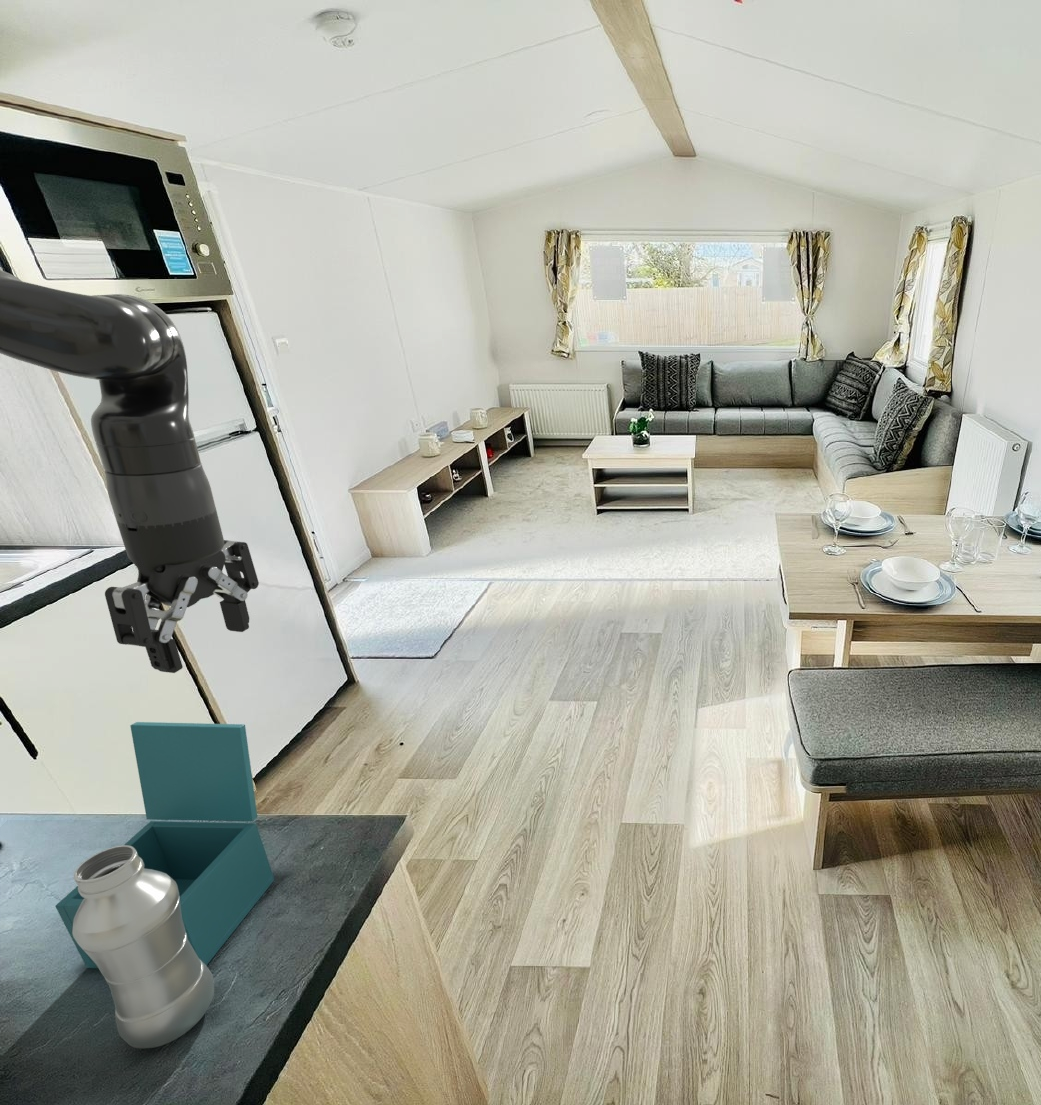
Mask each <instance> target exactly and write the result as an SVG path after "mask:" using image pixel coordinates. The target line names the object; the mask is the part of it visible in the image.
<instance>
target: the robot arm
mask: <svg viewBox="0 0 1041 1105" xmlns="http://www.w3.org/2000/svg"><path fill="white" fill-rule="evenodd" d="M0 354H1V355H3V356H6V357H9V358H11V359H13V360H17V361H21V362H24V363H27V364H31V365H33V366H37V367H40V368H44V369H47V370H51V371H54V372H57V373H61V374H65V375H69V376H73V377H78V378H84V379H90V380H98V383H99V388H100V395H101V397H100V402H99V404H98V405H97V407H96V408H95V409H94V411H93V412H92V414H91V418H90V426H91V431H92V436H93V439H94V442H95V445H96V449H97V452H98V455H99V458H100V461H101V464H102V468H103V470H104V475H105V480H106V491H107V495H108V499H109V502H110V506H111V509H112V512H113V514H114V517H115V522H116V524H117V527H118V531H119V533H120V537H121V540H122V543H123V546H124V550H125V552H126V555H127V558H128V559H129V560H130V561H131V563H133V564H134V566H135V567H136V568H137V570H138V574H137V575H138V576H137V580H136V581H135V582H133V583H130V584H128V585H126V586H123V587H121V586H109V587H107V588H106V589H105V591H104V597H105V600H106V604H107V609H108V612H109V615H110V620H111V624H112V627H113V631H114V636H115V638H116V642H117V644H119V645H127V646H128V645H129V646H135V647H136V646H137V647H142V648H145V651H146V653H147V656H148V659H149V662H150V665H151V667H152V668H153V669H154V670H157V671H159V672H162V673H169V674H175V673H177V672H179V671H181V670H182V669H183V667H184V666H183V663H182V660H181V656H180V653H179V649H178V646H177V643H176V639H174V638H172V637H173V634H174V630H175V629H176V625H177V623H178V622H180V621H181V620H182V619H184V616H185V613H186V610H187V608H190V607H193V606H194V605H196V604H197V603H198V602H199V601H200V600H204V599H207V598H210V597H212V596H216V597H217V598H219V599H221V601H219V606H220V609H221V613H222V617H223V620H224V625H225V627H226V629H227V631H230V632H235V633H244V632H245V631H247V630H248V629H250V625H249V623H250V615H249V611H248V607H247V603H246V600H247V599H248V593H249V592H250V591H251V590H256V589H257V588H259V584H260V583H259V578H258V575H257V572H256V568H255V565H254V561H253V559H252V555H251V552H250V549H249V545H248V543H247V542H245V541H236V540H227V539H225V538H224V535H223V530H222V527H221V523H220V519H219V516H218V511H217V507H216V503H215V500H214V496H213V491H212V488H211V483H210V481H209V479H208V476H207V474H206V472H205V470H204V467H203V463H202V461H201V457H200V454H199V449H198V445H197V441H196V439H195V434H194V430H193V427H192V424H191V421H190V416H189V404H190V402H189V401H190V396H189V395H190V393H189V373H188V362H187V355H186V350H185V346H184V342H183V339H182V337H181V334H180V332H179V330H178V328H177V327H176V325H175V323H174V321H173V320H172V319H171V318H170V317H169V316H168V315H167V313H166V312H165V311H163V310H162V309H161V308H160V307H158V305H155V304H154V303H152V302H151V301H149V300H146V299H144V298H142V297H139V296H138V297H137V296H135V295H129V294H122V293H121V294H120V293H119V294H113V293H111V294H101V295H100V294H97V295H95V294H94V295H89V294H82V293H77V292H70V291H67V290H66V291H65V290H61V289H57V288H52V287H47V286H43V285H40V284H39V285H38V284H35V283H31V282H26V281H23V280H22V279H21V278H19V277H17V276H15V275H13V274H11V273H9V272H7V271H5V270H2V269H0ZM223 569H225V571H226V574H225V573H224V572H223ZM242 575H243V577H242ZM160 604H163V605H165V606H168V607H169V609H167V610H161V609H160V606H161V605H160ZM159 620H160V623H159V626H158V629H156V628H157V625H158V622H159Z"/></svg>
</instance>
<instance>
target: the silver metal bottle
mask: <svg viewBox="0 0 1041 1105" xmlns="http://www.w3.org/2000/svg"><path fill="white" fill-rule="evenodd" d="M73 879H74V882H75V883H76V886H78V892H79V893H80V895H81V896H82V897H84V899H83V901H82V903H81V905H80V906H79V909H78V911H77V913H76V915H75V917H74V921H73V931H72V933H73V937H74V939H75V940H76V942H77V944H78V945H79V946H80V947H81V948H82V949H83V950H84V951H85V952H86V954H87V955H88V956H89V957H90V958H91V959H92V960H93V961H94V962H95V964H96V965H97V967H98V968H97V969H98V970H99V972H100V974H101V975H102V976H103V977H104V980H105V981H106V983H107V985H108V986H109V990H110V993H111V997H112V1000H113V1005H114V1007H115V1008H114V1009H115V1011H114V1014H115V1015H114V1016H115V1017H114V1018H115V1023H116V1030H117V1033H118V1036H119V1037H120V1038H121V1039H122V1040H123V1041H124V1042H125V1043H127V1045H129V1046H130V1047H132V1048H135V1049H153V1048H158V1047H162V1046H164V1045H167V1044H170V1043H172V1042H173V1041H176V1040H177V1039H179V1038H180V1037H182V1036H184V1034H186V1033H187V1032H189V1031H190V1030H191V1029H192V1028H194V1027H195V1025H197V1024H198V1023H199V1022H200V1021H201V1019H203V1017H204V1015H205V1014H206V1012H207V1011H208V1009H209V1007H210V1006H211V1003H212V1002H213V1000H214V997H215V996H214V995H215V980H214V975H213V973H212V972H211V970H210V969H209V967H208V965H205V964H204V963H203V962H202V961H201V960H200V959H199V958H198V956H197V954H196V953H195V951H194V949H193V947H192V946H191V944H190V942H189V941H188V938H187V934H186V932H185V927H184V923H183V920H182V914H181V905H180V896H179V890H178V886H177V884H176V881H174V880H173V879H172V878H171V877H170V876H168V875H167V874H166V873H163V872H160V871H156V870H152V869H145V868H144V862H143V860H142V859H141V858H140V857H139V856H138V854H137V851H136V850H135V849H134V848H133V847H132V846H128V845H124V844H123V845H122V844H121V845H117V846H113V847H109V848H106V849H104V850H101V851H99V852H97V853H95V854H93V855H92V856H90V857H88V858H87V859H85V860H84V861H83V862H82V863H80V865H78V867H77V868H76V869H75V870H74V872H73Z"/></svg>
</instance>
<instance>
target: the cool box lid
mask: <svg viewBox="0 0 1041 1105" xmlns="http://www.w3.org/2000/svg"><path fill="white" fill-rule="evenodd" d="M129 726H130V732H131V738H132V743H133V749H134V755H135V761H136V767H137V772H138V779H139V783H140V788H141V794H142V800H143V805H144V811H145V817H146V820H150V821H201V822H253V821H255V820H256V819H258V811H257V802H256V795H255V789H254V780H253V773H252V765H251V760H250V759H251V758H250V751H249V745H248V738H247V729H246V724H245V723H244V724H240V723H239V724H238V723H236V724H235V723H201V722H200V723H198V722H197V723H194V722H193V723H192V722H151V721H150V722H149V721H135V722H134V723H131V724H130V725H129Z"/></svg>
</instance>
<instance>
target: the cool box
mask: <svg viewBox="0 0 1041 1105" xmlns="http://www.w3.org/2000/svg"><path fill="white" fill-rule="evenodd" d="M123 845H128V846H132V847H133V848H134V849H135V850H136V851H137V854H138V856H139V857H140V858H141V859H142V860H143V862H144V868H145V869H152V870H156V871H160V872H163V873H166V874H167V875H168V876H170V877H171V878H172V879H173V880H174V881H176V884H177V886H178V890H179V896H180V905H181V914H182V920H183V923H184V927H185V932H186V934H187V938H188V941H189V942H190V944H191V946H192V947H193V949H194V951H195V953H196V954H197V956H198V958H199V959H200V960H201V961H202V962H203V963H204V964H205V965H206V966H208V964H209V963H210V962H211V960H212V959H213V958H214V957H215V956H216V955H217V953H218V952H219V951H220V950H221V948H222V947H223V946H224V944H225V943H226V941H228V939H229V938H230V937H231V936H232V934H233V933H234V932H235V931H236V929H237V928H238V927H239V925H240V924H241V923H242V922H243V920H245V918H246V917H247V915H248V914H249V913H250V912H251V910H252V909H253V908H254V907H255V905H256V904H257V903H258V902H259V900H260V899H261V898H262V897H263V895H265V893H266V891H267V890H268V889H269V888H270V886H271V885H272V884H273V882H275V877H274V874H273V871H272V868H271V865H270V862H269V859H268V855H267V852H266V848H265V846H264V843H263V840H262V837H261V834H260V830H259V828H258V824H257V822H231V821H178V820H150V821H149V822H148V823H147V824H145V825H144V826H143V827H142V828H141V829H140V830H139V831H138V832H136V834H134V835H133V836H132V837H131V838H130V839H129V840H127V842H125V843H123ZM83 899H84V897H82V896H81V895H80V893H79V892H78V885H76V886H75V887H74V888H73V889H72V890H71V891H70V892H69V893H68V894H67V895H65V896H64V897H63V898H62V899H61V900H60V901H59V902H58V903H56V904H55V910H57V913H58V914H59V916H60V918H61V920H62V922H63V924H64V926H65V928H66V930H67V932H68V934H69V936H70V939H71V940H72V942H73V943H74V946H75V948H76V950H77V952H78V953H79V955H80V957H81V959H82V961H83V963H84V966H85V967H86V968H87V969H99V968H98V967H97V965H96V964H95V962H94V961H93V960H92V959H91V958H90V957H89V956H88V955H87V954H86V952H85V951H84V950H83V949H82V948H81V947H80V946H79V945H78V944H77V942H76V940H75V939H74V937H73V933H72V931H73V921H74V917H75V915H76V913H77V911H78V909H79V906H80V905H81V903H82V901H83Z"/></svg>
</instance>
